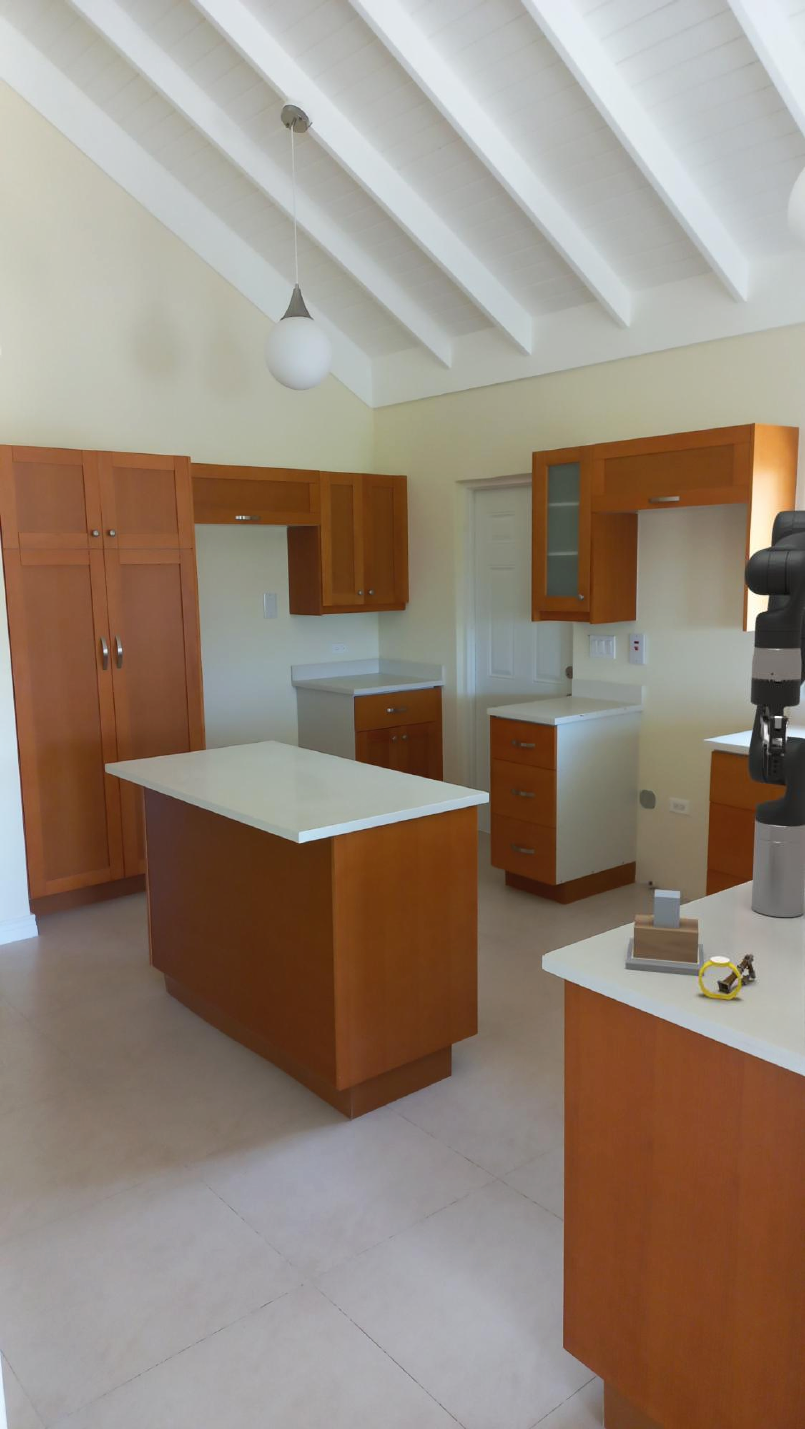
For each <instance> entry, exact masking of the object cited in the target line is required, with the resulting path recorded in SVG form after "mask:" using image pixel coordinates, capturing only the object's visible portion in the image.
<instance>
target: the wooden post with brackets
mask: <svg viewBox="0 0 805 1429" xmlns="http://www.w3.org/2000/svg"><path fill="white" fill-rule="evenodd" d="M754 957H755V956H754V954H753V953H750V954H748V953H746V955H744V958H743V959H742V961H741V962H740V963H739V964H737V965H736V966H735V967H736V968H737V969H738V971H739V973H740V975H741V987H742V986H747V984H748V983H750V982H751V980H750V979H752V980H755V979H756V978H757V977H756V970H755V969H754V966H753V964H752V963H753V962H754ZM745 970H748V971H747V972H748V974H746V975H744V972H745ZM736 980H738V977H737V975H736V974H735V972H734V971H733V970H732V971H731V974H729V975H728V976H727V977H726V978H725V979H723V980H719V979H718V980H717V981H716V983H717V985H718V990H720V991H724V992H727V993H728V994H730V993H732V991H731V987H732V986H733V984H734V983H735V981H736Z"/></svg>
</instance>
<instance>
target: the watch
mask: <svg viewBox="0 0 805 1429" xmlns="http://www.w3.org/2000/svg"><path fill="white" fill-rule="evenodd" d="M712 966H713V967H718V968H726V967H728V968H729V969H731V970H732V971H734V972H735V974H736V975H737V977H738V978H737V980H738V983H737V986H736V987H735V989H734V990H733V991H731V993H728V994H724V993H714V992H710V991H709V990H708V989H707V988H706V987H705V985H704V983H703V979H702V978H703V976H702V974H703V973H704V974H705V971H706V970H707V969H708V968H711V967H712ZM736 967H737V966H735V964H733V963H731V960H730V958H728V957H725V956H717V955H716V956H712V957H711V958H710V959H709V961H707V962H705V963H704V965H703V967H702V968H701V969H700V973H699V976H698V984H699V988H700V990H701V991H702V993H703V994H704V995H705V996H706V997H707V998H709V999H719V1000H727V1001H730V1000H732V999H733V998H735V997H737V996H738V995H739V992H740V990H741V988H742V986H741V978H742V974H741V975H740V973H739V971H738V969H737V968H736Z"/></svg>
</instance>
